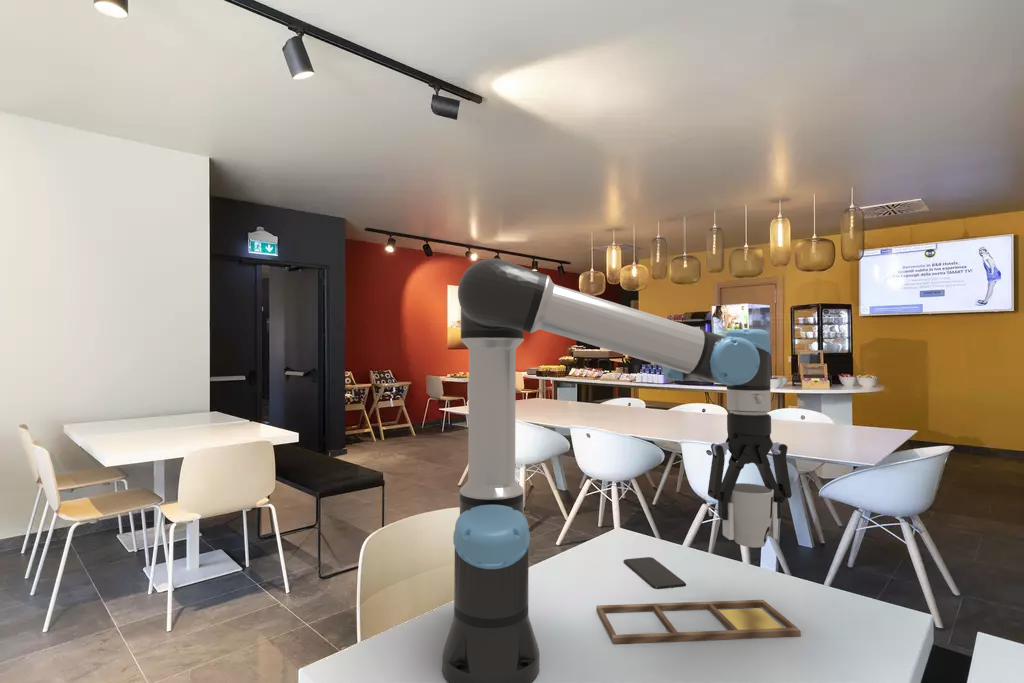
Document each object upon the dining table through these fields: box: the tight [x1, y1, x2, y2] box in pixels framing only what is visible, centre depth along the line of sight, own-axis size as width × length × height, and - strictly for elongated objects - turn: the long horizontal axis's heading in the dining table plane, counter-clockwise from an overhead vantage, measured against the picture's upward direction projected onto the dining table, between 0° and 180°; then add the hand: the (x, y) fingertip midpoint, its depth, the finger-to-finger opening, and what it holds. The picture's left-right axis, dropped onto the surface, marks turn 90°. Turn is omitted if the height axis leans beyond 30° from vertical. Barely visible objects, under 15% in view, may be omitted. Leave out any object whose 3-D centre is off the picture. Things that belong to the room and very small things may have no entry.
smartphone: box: [623, 556, 687, 590], centre depth 123 cm, size 8×1×16 cm
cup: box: [729, 482, 774, 549], centre depth 101 cm, size 8×8×10 cm
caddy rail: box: [595, 599, 802, 645], centre depth 100 cm, size 33×12×1 cm, turn 95°
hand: (749, 536), depth 101 cm, fingers closed on cup, 8 cm apart
